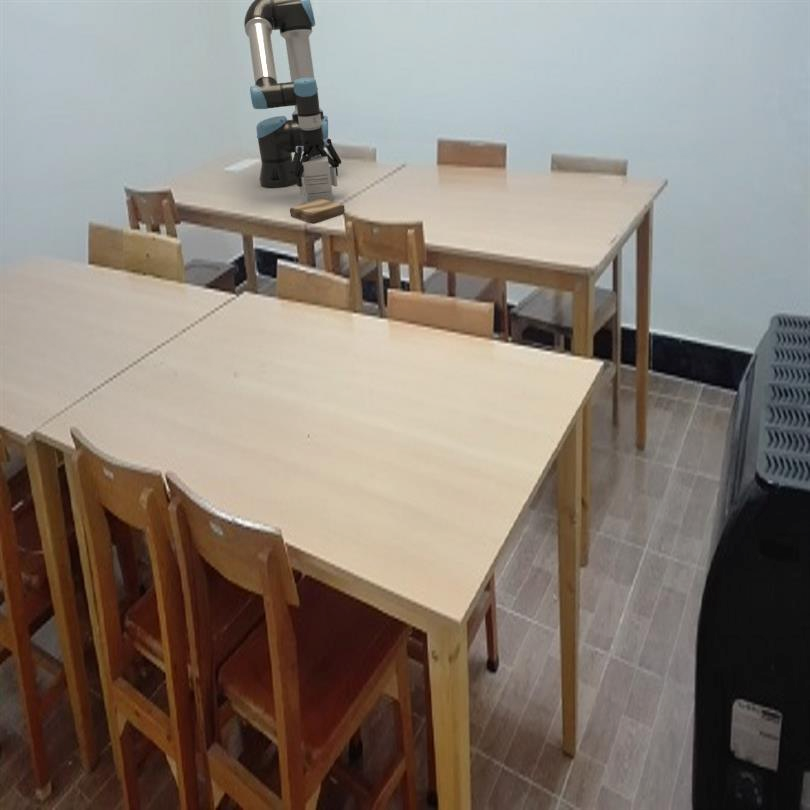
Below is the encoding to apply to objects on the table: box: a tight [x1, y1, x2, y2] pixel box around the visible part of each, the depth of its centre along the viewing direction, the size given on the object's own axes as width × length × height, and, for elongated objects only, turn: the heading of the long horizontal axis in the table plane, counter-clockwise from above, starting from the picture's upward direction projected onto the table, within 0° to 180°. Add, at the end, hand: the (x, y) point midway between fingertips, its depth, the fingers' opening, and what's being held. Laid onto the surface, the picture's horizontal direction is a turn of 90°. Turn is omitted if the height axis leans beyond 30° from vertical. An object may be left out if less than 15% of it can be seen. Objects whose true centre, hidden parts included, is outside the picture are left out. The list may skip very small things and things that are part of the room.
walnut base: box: [289, 198, 346, 224], centre depth 272 cm, size 13×13×3 cm
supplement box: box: [302, 155, 334, 202], centre depth 282 cm, size 9×9×15 cm
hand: (319, 190), depth 284 cm, fingers open, 13 cm apart
